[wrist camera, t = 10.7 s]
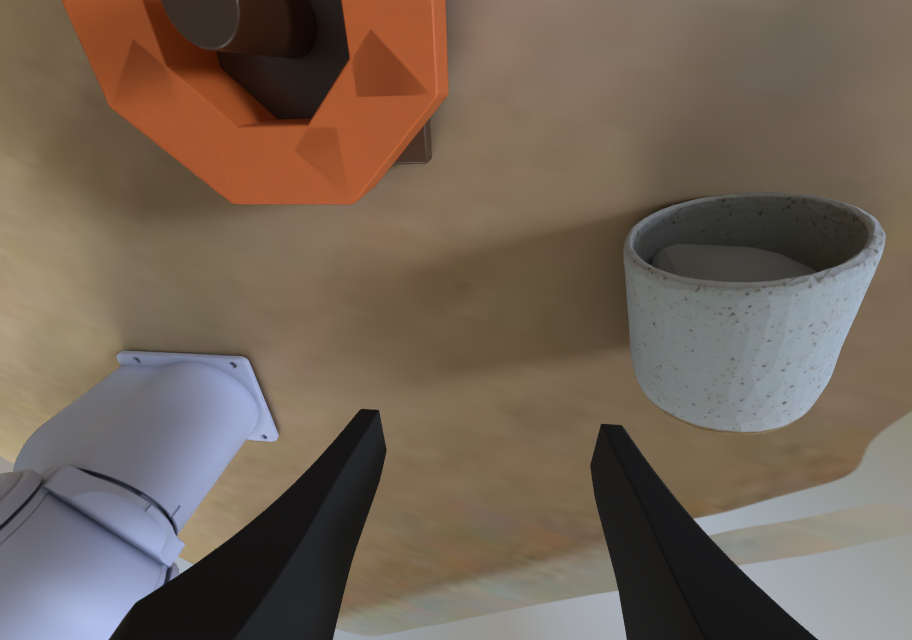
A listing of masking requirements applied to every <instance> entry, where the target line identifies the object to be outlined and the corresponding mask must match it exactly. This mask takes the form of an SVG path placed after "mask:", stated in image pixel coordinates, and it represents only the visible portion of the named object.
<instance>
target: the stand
mask: <svg viewBox="0 0 912 640" xmlns="http://www.w3.org/2000/svg"><path fill="white" fill-rule="evenodd" d="M161 2H162V4H163V7H164V9H165V11H166V13H167V15H168V17H169V19H170V21H171V22H172V23H173V25H174V26H175V28H176V29H177V30H178V31H179V32H180V33H181V34H182V35H183V36H184V37H185V38H186V39H187V40H189V41H190V42H191V43H193V44H194V45H196V46H198V47H200V48H203V49H206V50H212V51H216V53H217V56H218V59H219V63H220V66H221V68H222V69H223V70H224V71H225V72H226V73H227V74H228V75H229V76H231V77H232V78H233V79H234V80H235V81H236V82H237V83H238V84H239V85H240V86H242V87H243V88H244V89H245V90H246V91H247V92H248V93H249V94H250V95H252V96H253V97H254V98H255V99H256V100H257V101H258V102H259V103H260V104H262V105H263V106H264V107H265V108H266V109H267V110H268V111H269V112H270V113H271V114H273V115H274V116H275V117H276V118H277V119H309V118H312V117H313V116H314V114H315V113H316V111H317V109H318V108H319V106H320V105H321V103H322V101H323V100H324V98H325V97H326V95H327V93H328V92H329V90H330V89H331V87H332V85H333V84H334V82H335V81H336V79H337V77H338V76H339V74H340V73H341V71H342V69H343V68H344V66H345V65H346V63H347V61H348V60H349V58H350V57H349V50H348V43H347V36H346V29H345V22H344V16H343V9H342V2H341V0H161ZM431 158H432V156H431V137H430V119H429V120H428V121H427V122H426V123H425V125H424V126H423V127H422V128H421V130H420V131H419V132H418V133H417V135H416V136H415V137H414V138H413V140H412V141H411V142H410V143H409V145H408V146H407V147H406V148H405V150H404V151H403V152H402V153H401V155H400V156H399V157H398V158H397V160H396V161H395V162H394V163H393V164H426V163H428V162H429V161H430V160H431Z"/></svg>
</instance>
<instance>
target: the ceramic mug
mask: <svg viewBox="0 0 912 640" xmlns="http://www.w3.org/2000/svg"><path fill="white" fill-rule="evenodd" d="M885 238H886V235H885V233H884V231H883V229H882V227H881V224H880V223H879V222H878V221H877V219H876V218H875V217H874V216H872V215H870V214H869V213H867V212H865V211H863V210H861V209H860V208H858V207H856V206H854V205H850V204H846V203H843V202H839V201H835V200H832V199H828V198H821V197H816V196H811V195H804V194H790V193H775V192H771V193H758V192H755V193H734V194H728V195H721V196H715V197H707V198H700V199H695V200H692V201H687V202H683V203H680V204H677V205H672V206H670V207H668V208H665V209H661V210H659V211H656V212H654V213H652V214H651V215H649V216H648V217H646V218H644V219H642V220H640V221H639V222H638V223H637V224H635V225H634V226H633V227H632V228H631V230H630V231H629V233H628V234H627V236H626V239H625V241H624V246H623V255H624V268H625V278H626V294H627V309H628V319H629V331H630V351H631V359H632V364H633V367H634V370H635V375H636V378H637V380H638V383H639V385H640V387H641V389H642V390H643V392H644V393H645V395H646V396H647V397H648V399H649V400H650V401H651V402H652V403H653V404H654V405H655V406H657V407H658V408H659V409H660V410H661V411H663V412H664V413H666V414H667V415H669V416H671V417H672V418H674V419H676V420H678V421H680V422H683V423H685V424H688V425H690V426H692V427H695V428H698V429H702V430H706V431H709V432H713V433H720V434H730V435H754V434H762V433H768V432H771V431H775V430H778V429H781V428H784V427H787V426H788V425H790V424H792V423H793V422H795V421H796V420H798V419H800V418H801V417H802V416H803V415H804V414H805V413H806V412H807V411H808V410H809V409H810V408H811V407H812V405H813V404H814V403H815V401H816V400H817V399H818V397H819V396H820V394H821V393H822V391H823V390H824V388H825V387H826V385H827V384H828V382H829V380H830V377H831V375H832V373H833V370H834V368H835V365H836V362H837V359H838V356H839V353H840V350H841V347H842V345H843V343H844V340H845V338H846V336H847V333H848V331H849V329H850V327H851V324H852V322H853V320H854V318H855V316H856V313H857V311H858V309H859V306H860V304H861V302H862V300H863V297H864V295H865V293H866V291H867V288H868V286H869V284H870V282H871V279H872V277H873V275H874V273H875V270H876V268H877V266H878V263H879V261H880V258H881V256H882V253H883V249H884V244H885Z"/></svg>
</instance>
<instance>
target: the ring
mask: <svg viewBox="0 0 912 640" xmlns="http://www.w3.org/2000/svg"><path fill="white" fill-rule="evenodd" d="M62 2H63V5H64V7H65V9H66V11H67V13H68V16H69V18H70V20H71V22H72V24H73V27H74V29H75V31H76V33H77V36H78V38H79V40H80V42H81V44H82V47H83V49H84V51H85V53H86V56H87V58H88V60H89V62H90V64H91V67H92V69H93V71H94V73H95V75H96V78H97V80H98V82H99V84H100V87H101V89H102V91H103V93H104V95H105V98H106V100H107V102H108V104H109V106H110V107H111V108H112V109H113V110H114V111H116V112H117V113H118V114H120V115H121V116H122V117H123V118H125V119H126V120H127V121H128V122H130V123H131V124H132V125H133V126H135V127H136V128H137V129H138V130H140V131H141V132H142V133H144V134H145V135H146V136H147V137H149V138H150V139H151V140H152V141H154V142H155V143H156V144H157V145H159V146H160V147H161V148H162V149H164V150H165V151H166V152H168V153H169V154H170V155H171V156H173V157H174V158H175V159H176V160H178V161H179V162H180V163H181V164H183V165H184V166H185V167H186V168H188V169H189V170H190V171H192V172H193V173H194V174H195V175H197V176H198V177H199V178H200V179H202V180H203V181H204V182H205V183H207V184H208V185H209V186H210V187H212V188H213V189H214V190H216V191H217V192H218V193H219V194H221V195H222V196H223V197H224V198H226V199H227V200H228V201H229V202H231V203H232V204H354V203H355V202H357V201H358V200H359V199H360V198H361V197H363V196H364V195H365V194H366V193H367V192H369V191H370V190H371V189H372V188H374V187H375V186H376V185H377V183H378V182H379V181H380V180H381V178H382V177H383V176H384V175H385V173H386V172H387V171H388V170H389V168H390V167H391V166H392V165H393V163H394V162H395V161H396V160H397V158H398V157H399V156H400V155H401V153H402V152H403V151H404V150H405V148H406V147H407V146H408V145H409V143H410V142H411V141H412V140H413V138H414V137H415V136H416V135H417V133H418V132H419V131H420V130H421V128H422V127H423V126H424V125H425V123H426V122H427V121H428V120H429V118H430V117H431V116H432V115H433V113H434V112H435V111H436V109H437V108H438V107H439V106H440V104H441V103H442V102H443V101H444V99H445V98H446V97H447V95H448V62H447V32H446V2H445V0H341V2H342V9H343V16H344V22H345V29H346V36H347V43H348V50H349V57H350V58H349V60H348V61H347V63H346V65H345V66H344V68H343V69H342V71H341V73H340V74H339V76H338V77H337V79H336V81H335V82H334V84H333V85H332V87H331V89H330V90H329V92H328V93H327V95H326V97H325V98H324V100H323V101H322V103H321V105H320V106H319V108H318V109H317V111H316V113H315V114H314V116H313V117H312V118H309V119H277V118H276V117H275V116H274V115H273V114H271V113H270V112H269V111H268V110H267V109H266V108H265V107H264V106H263V105H262V104H260V103H259V102H258V101H257V100H256V99H255V98H254V97H253V96H252V95H250V94H249V93H248V92H247V91H246V90H245V89H244V88H243V87H242V86H240V85H239V84H238V83H237V82H236V81H235V80H234V79H233V78H232V77H231V76H229V75H228V74H227V73H226V72H225V71H224V70H223V69H222V68H221V66H220V63H219V59H218V56H217V53H216V51H212V50H206V49H203V48H200V47H198V46H196V45H194V44H193V43H191V42H190V41H189V40H187V39H186V38H185V37H184V36H183V35H182V34H181V33H180V32H179V31H178V30H177V29H176V28H175V26H174V25H173V23H172V22H171V21H170V19H169V17H168V15H167V13H166V11H165V9H164V7H163V4H162V2H161V0H62Z"/></svg>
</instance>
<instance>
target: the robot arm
mask: <svg viewBox="0 0 912 640" xmlns="http://www.w3.org/2000/svg"><path fill="white" fill-rule="evenodd" d="M116 357H117V360H118V361H119V363H120V364H121V367H119V368H118V369H117V370H115V371H114V372H112V373H111V374H110V375H108V376H107V377H106V378H104V379H103V380H102V381H100V382H99V383H98V384H96V385H95V386H94V387H92V388H91V389H90V390H88V391H87V392H86V393H84V394H83V395H82V396H80V397H79V398H78V399H76V400H75V401H74V402H72V403H71V404H70V405H68V406H67V407H66V408H64V409H63V410H62V411H60V412H59V413H58V414H56V415H55V416H54V417H52V418H51V419H50V420H48V421H47V422H46V423H44V424H43V425H42V426H41V427H40V428H38V429H37V430H36V431H35V432H34V433H33V434H32V435H31V436H30V438H29V439H28V440H27V442H26V443H25V444H24V446H23V448H22V449H21V451H20V453H19V455H18V457H17V459H16V462H15V465H14V469H13V472H9V473H2V474H0V640H333V636H334V631H335V627H336V623H337V619H338V615H339V611H340V606H341V602H342V598H343V594H344V590H345V586H346V582H347V578H348V574H349V571H350V567H351V563H352V560H353V556H354V553H355V550H356V547H357V544H358V541H359V538H360V536H361V533H362V530H363V527H364V524H365V521H366V519H367V516H368V513H369V510H370V507H371V504H372V502H373V499H374V496H375V493H376V490H377V487H378V484H379V481H380V477H381V473H382V469H383V464H384V460H385V455H386V445H385V440H384V435H383V429H382V424H381V418H380V413H379V410H370V409H361V410H360V411H359V412H358V413H357V414H356V415H355V416H354V418H353V419H352V420H351V421H350V422H349V424H348V425H347V426H346V427H345V428H344V430H343V431H342V432H341V433H340V434H339V436H338V437H337V438H336V439H335V440H334V441H333V443H332V444H331V445H330V446H329V447H328V448H327V449H326V450H325V451H324V453H323V454H322V455H321V456H320V457H319V458H318V459H317V460H316V461H315V462H314V464H313V465H312V466H311V467H310V468H309V469H308V470H307V471H306V472H305V473H304V474H303V475H302V476H301V477H300V478H299V479H298V480H297V481H296V482H295V483H294V484H293V485H292V486H291V487H290V488H289V489H288V490H287V491H286V492H285V493H284V494H282V495H281V496H280V497H279V498H278V499H277V500H276V501H275V502H274V503H273V504H271V505H270V506H269V507H268V508H267V509H266V510H265V511H263V512H262V513H261V514H260V515H259V516H257V517H256V518H255V519H254V520H253V521H251V522H250V523H249V524H248V525H247V526H245V527H244V528H243V529H242V530H240V531H239V532H238V533H237V534H235V535H234V536H233V537H231V538H230V539H229V540H228V541H226V542H225V543H223V544H222V545H221V546H219V547H218V548H217V549H215V550H214V551H212V552H211V553H210V554H208V555H207V556H206V557H204V558H203V559H201V560H200V561H199V562H197V563H196V564H194V565H193V566H192V567H190V568H189V569H187V570H186V571H184V572H183V573H181V574H180V575H179V569H178V567H177V565H176V564H175V563H174V561H175V559H176V557H177V556H178V555H179V553H180V552H181V551H182V549H183V548H184V546H185V543H184V542H182V541H181V540H180V539H179V538H178V537H177V535H178V534H179V532H180V531H181V530H182V528H183V527H184V526H185V524H186V523H187V521H188V520H189V519H190V517H191V516H192V514H193V513H194V512H195V510H196V509H197V507H198V506H199V505H200V503H201V502H202V500H203V499H204V498H205V496H206V495H207V493H208V492H209V491H210V489H211V488H212V486H213V485H214V484H215V482H216V481H217V479H218V478H219V477H220V475H221V474H222V473H223V471H224V470H225V468H226V467H227V466H228V464H229V463H230V461H231V460H232V459H233V457H234V456H235V454H236V453H237V452H238V450H239V449H240V447H241V446H242V445H243V443H244V442H245V440H257V441H271V442H273V441H276V440H277V438H278V437H279V434H278V432H277V429H276V427H275V424H274V422H273V419H272V417H271V414H270V412H269V409H268V407H267V404H266V402H265V399H264V397H263V394H262V392H261V389H260V387H259V384H258V382H257V379H256V377H255V374H254V372H253V370H252V367H251V365H250V362H249V361H248V359H246V358H245V357H242V356H225V355H205V354H185V353H164V352H144V351H121V352H119V353H118V354H117V355H116ZM590 467H591V474H592V482H593V488H594V495H595V500H596V504H597V508H598V512H599V516H600V520H601V524H602V527H603V531H604V535H605V539H606V543H607V546H608V550H609V554H610V558H611V561H612V565H613V569H614V573H615V577H616V581H617V586H618V590H619V596H620V602H621V607H622V613H623V619H624V625H625V630H626V637H627V640H818V639H816V638H815V637H814V636H813V635H812V634H810V633H809V632H808V631H807V630H806V629H805V628H804V627H803V626H801V625H800V624H799V623H798V622H797V621H796V620H794V619H793V618H792V617H791V616H790V615H789V614H788V613H786V612H785V611H784V610H783V609H782V608H781V607H780V606H779V605H778V604H777V603H776V602H775V601H774V600H772V599H771V598H770V597H769V596H768V595H767V594H766V593H765V592H764V591H763V590H762V589H761V588H759V587H758V586H757V585H756V584H755V583H754V582H753V581H752V580H751V579H750V578H749V577H748V576H747V575H746V574H745V573H744V572H743V571H742V570H741V569H739V567H738V566H737V565H736V564H735V563H734V562H733V561H732V560H731V559H730V558H729V557H728V556H727V555H726V554H725V553H724V552H723V551H722V550H721V549H720V548H719V547H718V546H717V545H716V544H715V543H714V542H713V541H712V539H711V538H710V537H709V536H708V535H707V534H706V533H705V532H704V531H703V530H702V529H701V527H700V526H699V525H698V524H697V523H696V522H695V521H694V519H693V518H692V517H691V516H690V515H689V514H688V512H687V511H686V510H685V509H684V508H683V506H682V505H681V504H680V503H679V502H678V500H677V499H676V498H675V497H674V495H673V494H672V493H671V492H670V490H669V489H668V488H667V487H666V485H665V484H664V483H663V481H662V480H661V479H660V478H659V476H658V475H657V474H656V472H655V471H654V470H653V468H652V467H651V466H650V464H649V463H648V462H647V460H646V459H645V457H644V456H643V455H642V453H641V452H640V450H639V449H638V448H637V446H636V445H635V443H634V442H633V440H632V439H631V438H630V436H629V435H628V433H627V432H626V430H625V429H624V428H623V426H622V425H611V424H601V426H600V430H599V434H598V438H597V442H596V446H595V450H594V453H593V457H592V461H591V465H590Z"/></svg>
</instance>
